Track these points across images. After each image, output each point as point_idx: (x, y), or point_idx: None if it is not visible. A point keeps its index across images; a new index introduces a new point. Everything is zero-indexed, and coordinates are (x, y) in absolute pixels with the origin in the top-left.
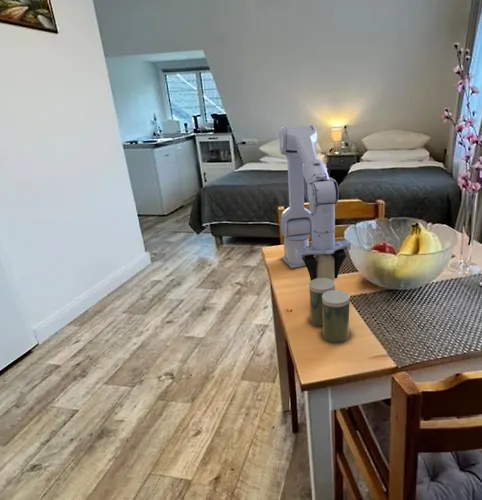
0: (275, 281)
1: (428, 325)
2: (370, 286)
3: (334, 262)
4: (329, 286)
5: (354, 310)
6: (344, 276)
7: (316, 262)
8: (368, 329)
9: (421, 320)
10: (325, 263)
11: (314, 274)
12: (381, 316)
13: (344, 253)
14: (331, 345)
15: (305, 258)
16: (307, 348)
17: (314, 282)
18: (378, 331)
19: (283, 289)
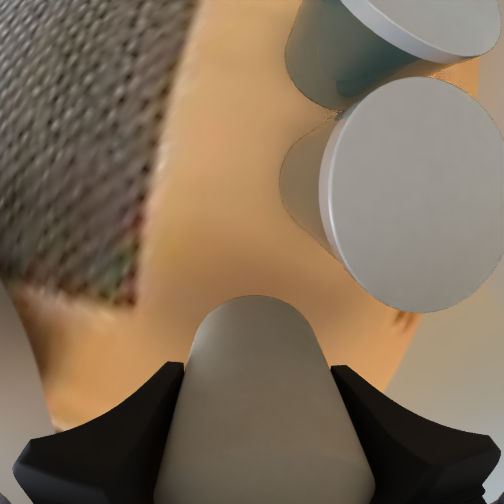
0: None
1: (22, 12)
2: (27, 326)
3: (169, 453)
4: (419, 102)
5: (159, 185)
6: None
7: (434, 458)
8: (195, 31)
9: (14, 39)
10: (315, 452)
11: (374, 396)
12: (91, 95)
13: (29, 480)
14: None
15: (482, 498)
16: None
17: (475, 249)
18: (170, 10)
19: None
